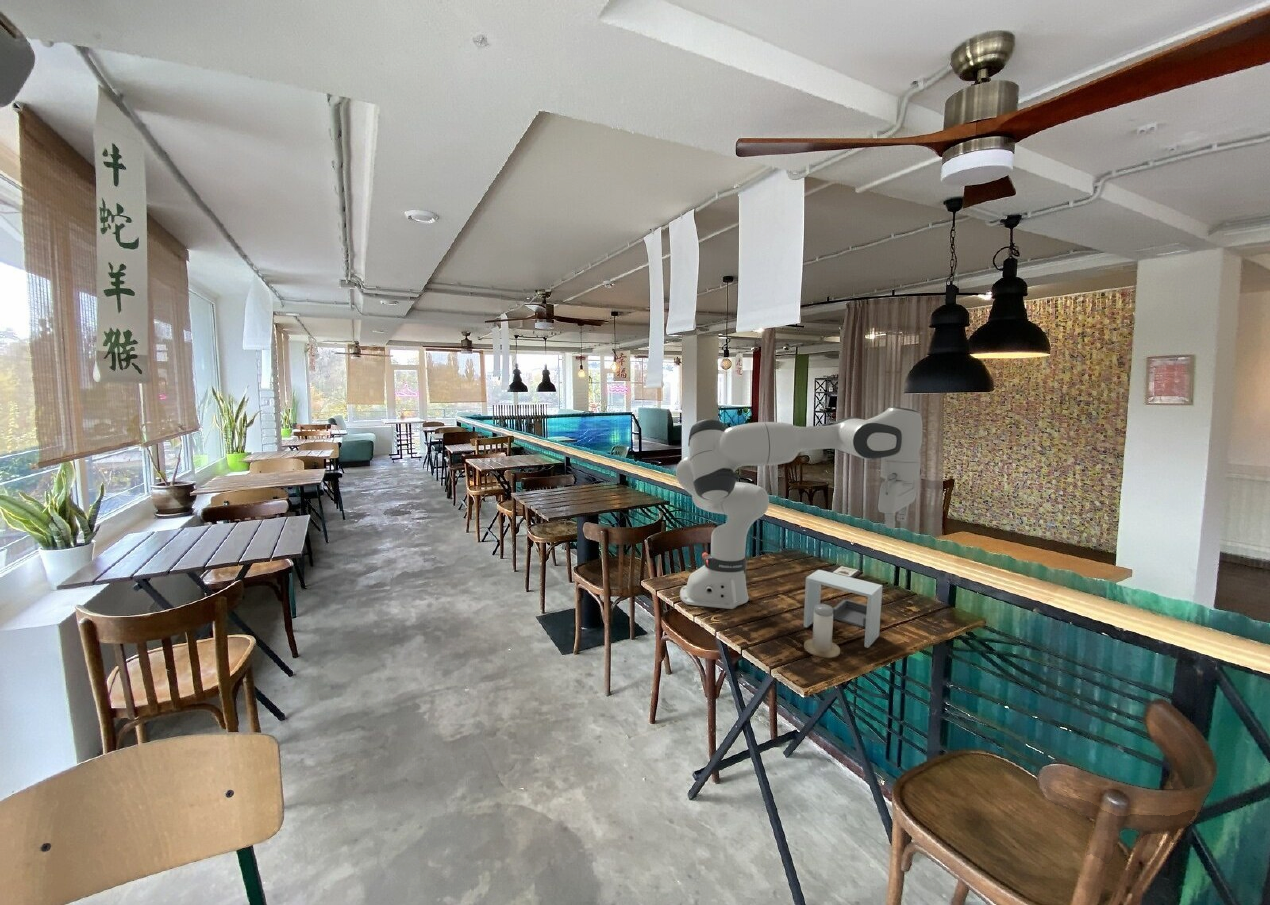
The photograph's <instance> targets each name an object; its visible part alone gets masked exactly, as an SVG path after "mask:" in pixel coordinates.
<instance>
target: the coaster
mask: <svg viewBox="0 0 1270 905" xmlns="http://www.w3.org/2000/svg"><path fill="white" fill-rule="evenodd" d="M812 640H813V638H809V639H806V640H804V644H803V649H804V650H805V651H806V652H808V653H809V654H810V655H812V656H814V657H819V658H823V659H832V658H836V657H839V655H841V654H840V653H841V648H840V647H839V645H838V644H836V643H834V642H833V641H832V647H831V650H830V651H827V652H824V651H819V650H816V649H814V648H813V646H812Z"/></svg>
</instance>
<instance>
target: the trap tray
mask: <svg viewBox="0 0 1270 905" xmlns="http://www.w3.org/2000/svg"><path fill="white" fill-rule="evenodd" d="M832 608H833V620H835V621H840V622H843V623H846V624H850V625H853V626H856V627H859V628H863V629H866V614H867V603H862V602H858V601H854V600H850V599H847V598H844V599H842V600H841V601H840V602H839V603H837V604H836V605H835V606H833V607H832Z"/></svg>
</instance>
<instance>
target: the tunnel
mask: <svg viewBox="0 0 1270 905" xmlns="http://www.w3.org/2000/svg"><path fill="white" fill-rule="evenodd" d="M822 586H825V587H829V588H834V589H836V590H840V591H845V592H849V593H852V594H856V595H860V596H864V597H866V598H867V601H866V605H867V614H866V629H865V628H864V629H865V631H864V632H865V633H864V648H870V647H871V645H873V643H874V642H875V641H876V640H877V639H878V638H879V637H880V627H881V625H880V624H881V614H882V611H881V610H882V599H883V598H882V596H883V584H879V583H875V582H871V581H867V580H863V579H858V578H856V577H855V578H851V577H847V576H843V575H839V574H835V573H831V572H829V571H826V570H823V569H817V570H816V571H814V572H812V573H811V574H810V575H807V576H806V577H805V588H804V589H805V591H804V592H805V593H804V607H803V608H804V611H803V628H809V627H810V626H811V625H813V620H814V610H815V605H817V604H821V598H822V597H821V595H822Z"/></svg>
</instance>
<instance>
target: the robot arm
mask: <svg viewBox="0 0 1270 905" xmlns="http://www.w3.org/2000/svg"><path fill="white" fill-rule="evenodd" d="M689 430H690V431H689V435H688V443H687V444H688V447H689V455H687V456H686V457H683V458H682V459H681V460H680V461H679V462H678V463H677V466H676V468H675V479H676V481H677V482H678V484H679V485H680V486H681V487H682V488H683V490H685V491H686V492H687V493H688V494H689V495H691V498H692V502H693V504H694V506H695V507H697V508H698V509H701V510H704V511H706V512H709V513H712V514H713V513H714V514H720V515H727V516H726V517H727V520H726V522H725V523H722V524H721V525H718V526H716V527H715V528H714V529H713V530H712V532H711V538H710V541H711V542H710V553H709V554H708V553H707V552H703V553H702V554H701V555H702V556H701V557H702V559H703V560H704V565H702V566H700V568H698V569H696V570H695V571H692V573H690V575H689V576H688V579H687V583H686V585H683V586H682V587H681V588H680V591H679V597H680V600H681V601H682V602H683V603H684V604H686V605H691V606H698V607H700V606H701V607H707V608H718V609H727V610H733V609H735V608H737V607H738V606H741V605H743V604H746V603H747V602H748V601H749V599H750V597H749V595H748V594H749V593H748V590H747V589H748V588H747V583H746V574H747V573H746V572H747V563H748V562H747V556H746V545H747V535H748V532H749V530H750V528H751V527H752V525H753V524H754V523H755V522H756V521H757V520H759V519H760V518H762V517H763V516H764V515H765V514H766V512H767V511H768V509H769V506H770V498H769V493H768V492H767V490H766V489H765V487H761V486H759V485H756V484H753V483H751V482H750V483H749V482H740V481H739V480H740V477H741V476H740V475H739V474H738V473H736V470H738V469H739V468H741V467H747V466H750V467H751V466H752V467H753V466H755V467H756V466H757V467H759V466H760V467H762V466H766V467H767V466H776V465H777V466H778V465H782V464H787V463H791V462H793V461H794V460H795V459H796V457H797V456H798V455H799V453H800V452H803V451H811V450H812V451H813V450H827V449H829V450H830V449H831V450H836V451H838V452H841V453H844V454H847V455H851V456H855V457H858V458H861V459H865V460H876V459H880V472H879V473H880V475H879V476H880V477H881V478H882V479H885V480H884V481H882V482H881V484H880V487H879V495H878V496H879V497H878V502H877V503H878V505H877V509H878V512H879V513H883V514H884V518H885V528H887V529H889V530H890V529H891V530H893V529H895V527H896V520H897V522H904V521H906V520H907V513H908V510H909V505H911V504H913V503H914V502H915V500H916V498H917V494H918V487H919V482H920V481H919V480H920V477H921V476H922V474H923V472H922V471H923V469H922V466H921V461H922V460H921V455H920V450H921V447H922V444H923V419H922V415H921V413H919V412H918V411H917V410H914V409H911V408H904V407H900V406H891V407H888V408H887V409H886V410H885V411H883V412H881V413H880V414H878V415H875V416H873V417H871V418H868V419H862V418H860V417H856V416H855V417H854V416H849V417H843V419H840V420H837V421H835V422H834V423H831V424H828V425H827V424H826V425H812V426H811V425H809V426H797V425H795V424H792V423H786V422H779V421H758V422H748V423H743V424H738V425H734V426H730V427H727V428H726V426H725V424H724V423H723V422H722V421H720V420H717V419H711V418H710V419H709V418H708V419H707V418H706V419H702V420H701V419H700V420H699V421H697V422H695V423H694V424H693V425H692V426H691V427H690V429H689ZM896 513H897V514H896ZM895 516H896V517H897V518H895ZM895 519H896V520H895Z"/></svg>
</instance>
